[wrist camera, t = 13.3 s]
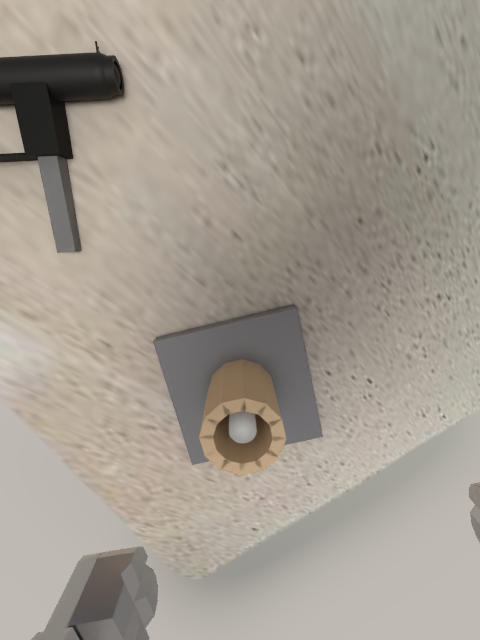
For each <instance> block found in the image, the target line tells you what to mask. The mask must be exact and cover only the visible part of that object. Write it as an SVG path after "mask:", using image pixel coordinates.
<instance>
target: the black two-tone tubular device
mask: <svg viewBox="0 0 480 640" xmlns="http://www.w3.org/2000/svg"><path fill="white" fill-rule="evenodd" d="M95 44H96V51H97V53H77V54H59V55H40V56H21V57H2V58H0V105H1V104H14V105H15V110H16V114H17V119H18V123H19V128H20V132H21V137H22V141H23V146H24V150H25V153H12V154H0V162H16V161H35V160H38V163H39V168H40V173H41V177H42V182H43V187H44V191H45V196H46V201H47V206H48V210H49V215H50V220H51V224H52V229H53V234H54V239H55V243H56V248H57V253H59V252H76V251H81V245H80V238H79V232H78V226H77V220H76V214H75V208H74V202H73V195H72V189H71V183H70V177H69V171H68V165H67V159H73V154H72V147H71V141H70V135H69V128H68V122H67V116H66V109H65V103H64V101H77V100H96V99H109V98H112V97H113V96H115V95H123V93H124V83H123V77H122V72H121V68H120V65H119V62H118V60H117V58H116V57H115V56H106V55H104V54H101V53H100V52H99V53H98V49H99V47H97V41H95Z"/></svg>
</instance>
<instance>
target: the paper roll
mask: <svg viewBox="0 0 480 640" xmlns="http://www.w3.org/2000/svg"><path fill="white" fill-rule="evenodd" d="M240 411H247V412H250V413H254V414H255V419H256V429H257V433H256V436H255V438H254V439H253V440H252V441H250V442H248V443H237V442H235V441H234V440H232V438H231V437H230V435H229V414H231V413H236V412H240ZM199 439H200V442H201V445H202V448H203V452H204V455H205V457H206V458H207V459H209V460H210V461H211V462H212V463H213V464H214V465H215V466H216V467H217V468H219V469H220V470H222V471H226V472H230V473H234V474H238V475H246V474H250V473H255V472H260V471H263V470H265V469H266V468H267V467H268V466H270V465H271V464H272V463H273V462H275V461H276V460H277V459H278V458H279V457H280V455H281V452H282V449H283V447H284V444H285V441H286V435H285V430H284V426H283V422H282V418H281V414H280V410H279V406H278V402H277V398H276V394H275V390H274V386H273V382H272V378H271V375H270V374H269V373H268V372H267V371H266V370H265V369H264V368H263V367H262V366H261V365H260V364H258V363H254V362H251V361H247V360H243V359H241V360H237V361H232V362H228V363H225V364H224V365H223V366H221V367H220V368H219V369H218V370H217V371H216V372H215V373H214V374H213V375H212V378H211V382H210V385H209V388H208V393H207V398H206V403H205V409H204V414H203V419H202V424H201V430H200V435H199Z"/></svg>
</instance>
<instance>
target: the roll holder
mask: <svg viewBox="0 0 480 640" xmlns="http://www.w3.org/2000/svg"><path fill="white" fill-rule="evenodd" d="M153 343H154V346H155V349H156V352H157V355H158V358H159V362H160V365H161V368H162V371H163V374H164V377H165V380H166V383H167V387H168V390H169V393H170V396H171V399H172V402H173V405H174V409H175V412H176V415H177V418H178V421H179V424H180V427H181V431H182V434H183V437H184V440H185V443H186V446H187V449H188V452H189V456H190V459H191V462H192V465H194V464H198V463H203V462H207V461H210V460H209V459H207V458H206V457H205V455H204V452H203V448H202V445H201V442H200V439H199V435H200V430H201V424H202V419H203V414H204V409H205V403H206V398H207V393H208V388H209V385H210V382H211V378H212V375H213V374H214V373H215V372H216V371H217V370H218V369H219V368H220V367H221V366H223V365H224V364H225V363H228V362H232V361H237V360H241V359H243V360H247V361H251V362H254V363H258V364H260V365H261V366H262V367H263V368H264V369H265V370H266V371H267V372H268V373H269V374H270V375H271V378H272V382H273V386H274V390H275V394H276V398H277V402H278V406H279V410H280V414H281V418H282V422H283V426H284V430H285V435H286V441H285V444H284V445H286V444H291V443H295V442H300V441H305V440H309V439H314V438H319V437H323V435H322V430H321V425H320V420H319V415H318V410H317V405H316V400H315V395H314V390H313V386H312V381H311V376H310V371H309V366H308V361H307V356H306V351H305V346H304V341H303V336H302V331H301V326H300V321H299V316H298V311H297V308H296V306H295V305H291V306H287V307H283V308H279V309H275V310H270V311H266V312H262V313H258V314H253V315H249V316H245V317H241V318H236V319H232V320H228V321H224V322H219V323H215V324H211V325H207V326H202V327H198V328H194V329H190V330H185V331H181V332H177V333H173V334H168V335H164V336H160V337H157V338H156V339H155V340H154V341H153ZM256 433H257V429H256V419H255V414H254V413H250V412H247V411H240V412H236V413H231V414H229V435H230V437H231V438H232V440H234V441H235V442H237V443H248V442H250V441H252V440H253V439H254V438H255V436H256Z"/></svg>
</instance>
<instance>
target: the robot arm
mask: <svg viewBox="0 0 480 640" xmlns="http://www.w3.org/2000/svg"><path fill="white" fill-rule="evenodd" d="M469 497H470V499H471V500H472V501H473V502H474V504H475V506H474V508H473V509H472V511H471V512H470V514H471V522H472V526H473V529H474V531H475V534H476V536H477V538H478V540H479V542H480V483H475V484H471V486H470V488H469ZM147 557H148V556H147V554H146V553H145V550H144V548H143V547H134V548H128V549H121V550H116V551H109V552H103V553H98V554H91V555H85V556H83V558H82V559H81V560H80V561H79V562H78V563H77V565H76V567H75V569H74V571H73V573H72V575H71V577H70V580H69V582H68V584H67V586H66V588H65V590H64V592H63V594H62V596H61V598H60V600H59V602H58V604H57V606H56V608H55V610H54V612H53V614H52V616H51V618H50V620H49V622H48V624H47V626H46V628H45V631H44V632H39V633H37V634H36V635H35V636H34V638H32V640H149V636H148V633H147V630H146V627H147V625H148V624H149V622H150V621H151V620H152V618H153V617H154V615H155V610H156V605H157V596H158V585H157V580H156V575H155V573H154V570H153V569H152V568H150V567H149V566H147V565H146V560H147Z"/></svg>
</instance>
